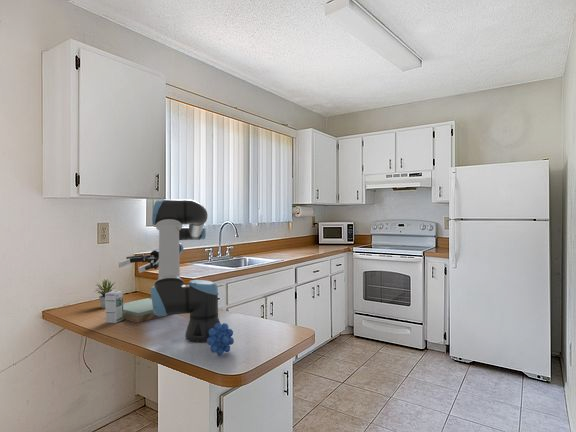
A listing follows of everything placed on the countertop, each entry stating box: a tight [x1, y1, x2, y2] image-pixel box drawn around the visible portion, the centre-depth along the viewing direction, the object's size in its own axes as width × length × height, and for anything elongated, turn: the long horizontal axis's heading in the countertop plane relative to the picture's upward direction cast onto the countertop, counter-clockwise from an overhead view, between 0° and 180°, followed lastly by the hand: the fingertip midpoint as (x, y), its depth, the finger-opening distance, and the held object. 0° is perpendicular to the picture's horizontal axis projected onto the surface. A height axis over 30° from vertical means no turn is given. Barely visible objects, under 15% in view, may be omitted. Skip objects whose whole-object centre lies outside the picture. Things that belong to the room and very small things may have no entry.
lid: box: [123, 297, 154, 316], centre depth 190 cm, size 22×25×8 cm
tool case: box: [123, 312, 165, 323], centre depth 190 cm, size 22×24×3 cm
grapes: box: [206, 322, 235, 356], centre depth 131 cm, size 12×7×12 cm, turn 138°
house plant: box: [93, 278, 115, 309], centre depth 207 cm, size 14×14×16 cm
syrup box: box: [104, 290, 125, 324], centre depth 177 cm, size 6×6×14 cm
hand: (129, 267), depth 180 cm, fingers open, 13 cm apart
